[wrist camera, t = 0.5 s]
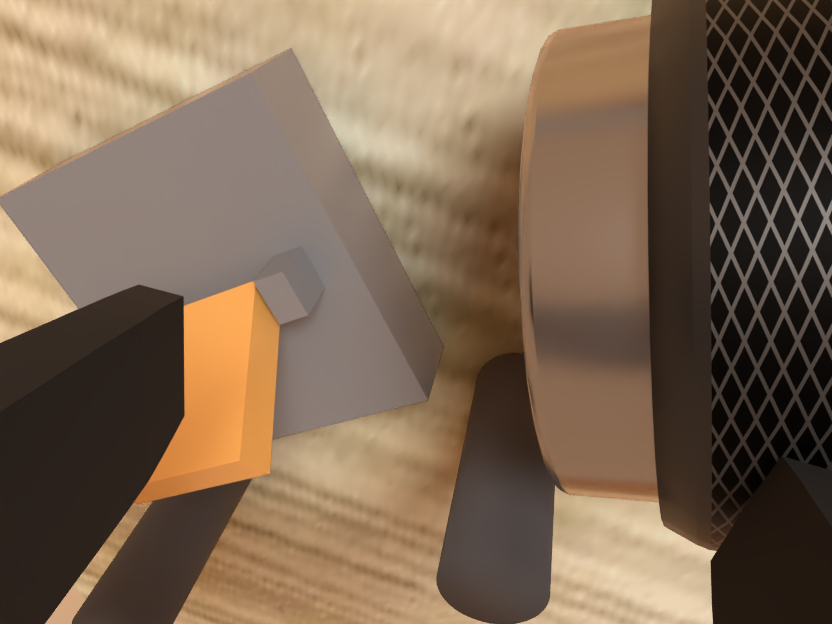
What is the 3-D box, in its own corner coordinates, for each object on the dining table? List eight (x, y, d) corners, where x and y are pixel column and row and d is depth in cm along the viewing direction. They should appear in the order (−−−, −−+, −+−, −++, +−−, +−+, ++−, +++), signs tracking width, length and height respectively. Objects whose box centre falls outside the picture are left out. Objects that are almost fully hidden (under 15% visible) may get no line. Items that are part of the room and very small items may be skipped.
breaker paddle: (281, 299, 18) (270, 473, 15) (164, 339, 19) (137, 504, 17) (255, 280, 17) (239, 460, 14) (135, 323, 18) (104, 493, 16)
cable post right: (570, 409, 21) (565, 617, 15) (494, 426, 22) (462, 629, 16) (541, 344, 20) (525, 540, 14) (463, 365, 21) (418, 557, 15)
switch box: (443, 346, 21) (418, 433, 18) (226, 407, 24) (171, 490, 20) (291, 47, 17) (224, 88, 14) (56, 164, 20) (-42, 220, 17)
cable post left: (267, 478, 25) (172, 662, 19) (214, 490, 26) (107, 670, 20) (231, 427, 24) (120, 605, 18) (177, 441, 25) (54, 615, 19)
